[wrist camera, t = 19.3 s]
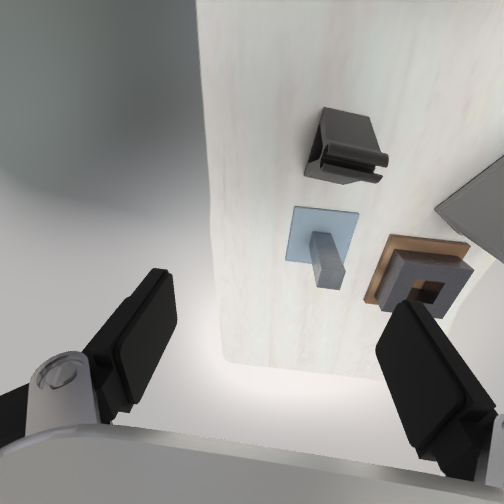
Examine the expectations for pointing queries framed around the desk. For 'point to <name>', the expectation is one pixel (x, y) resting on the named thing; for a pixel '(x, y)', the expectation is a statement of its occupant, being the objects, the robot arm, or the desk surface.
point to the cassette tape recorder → (479, 210)
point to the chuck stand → (412, 245)
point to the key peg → (326, 261)
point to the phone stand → (345, 149)
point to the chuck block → (422, 268)
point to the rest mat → (319, 221)
